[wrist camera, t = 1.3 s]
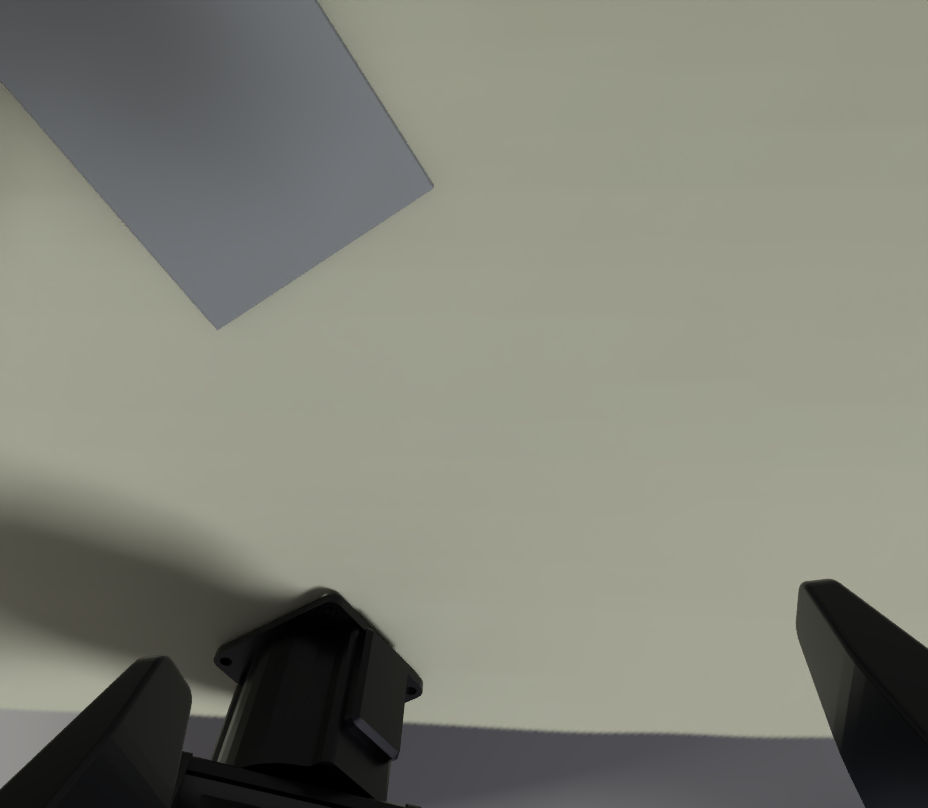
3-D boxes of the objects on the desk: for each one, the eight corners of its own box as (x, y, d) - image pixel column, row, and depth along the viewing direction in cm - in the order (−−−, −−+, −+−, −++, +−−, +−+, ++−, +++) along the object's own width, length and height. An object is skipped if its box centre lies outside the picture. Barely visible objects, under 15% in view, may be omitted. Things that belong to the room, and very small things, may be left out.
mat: (221, 325, 21) (217, 330, 21) (-118, -68, 16) (-131, -69, 16) (434, 185, 19) (432, 188, 19) (117, -316, 14) (108, -324, 14)
